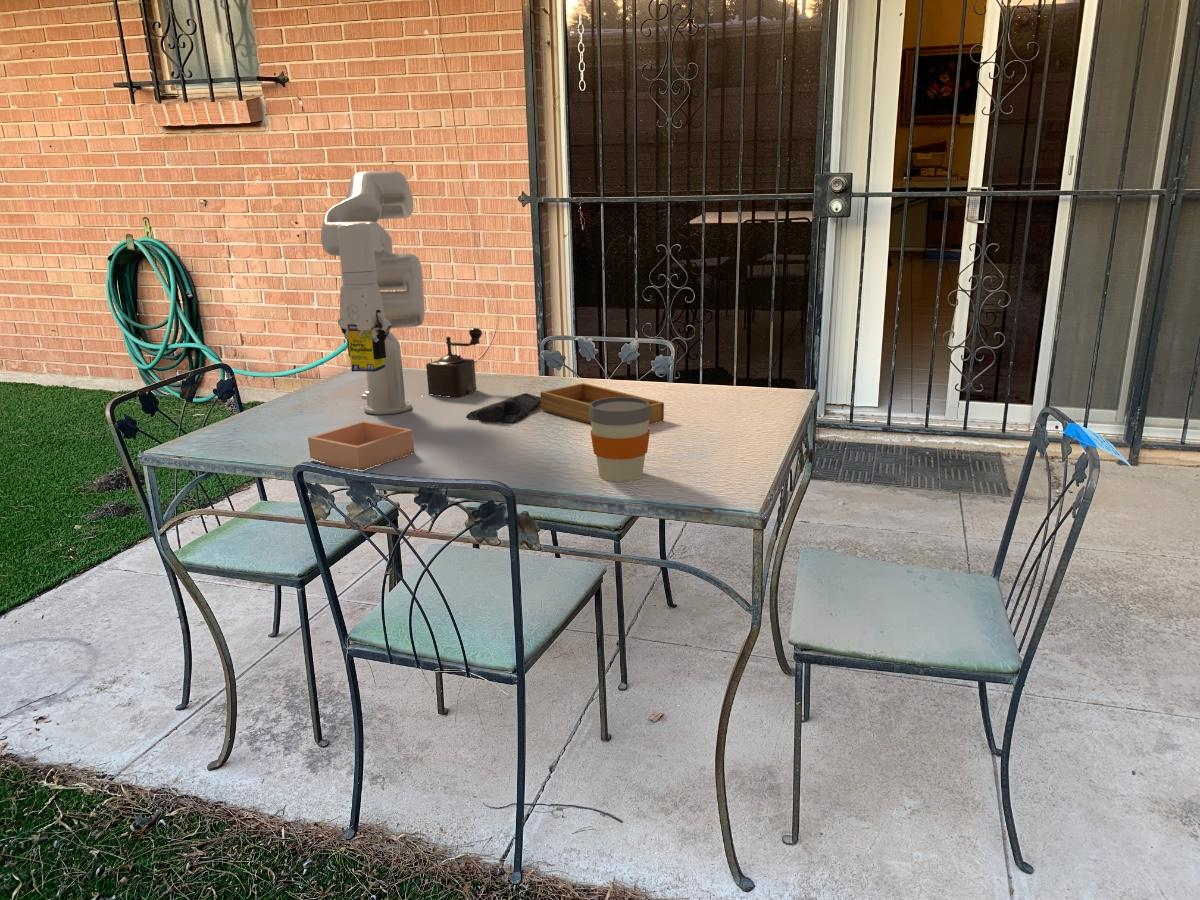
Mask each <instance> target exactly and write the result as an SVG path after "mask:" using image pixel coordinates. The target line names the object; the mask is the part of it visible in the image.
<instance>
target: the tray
mask: <svg viewBox="0 0 1200 900" xmlns="http://www.w3.org/2000/svg"><path fill="white" fill-rule="evenodd" d="M540 397H541V404H540V409H541V411H544V412H548V413H551V414H554V415H559V416H562V417H566V418H569V419H572V420H576V421H579V422H583V423H586V424H589V425H591V420H590V419H589V411H590V403H591V402H593V401H596V400H599V399H604V398H611V397H633V398H639V399H643V400H646V401H648V402H649V404H650V413H651V418H650V419H649V424H650V425H653V423H654V424H657V423H660V421H661V422H664V419H665V402H662V401H659V400H655V399H650V398H646V397H642V396H639V395H634V394H630V393H626V392H621V391H619V390H618V391H617V390H613V389H609V388H606V387H605V388H604V387H601V386H597V385H593V384H588V383H584V382H582V383H581V382H580V383H576V384H572V385H567V386H562V387H558V388H552V389H547V390H543V391H540ZM656 422H657V423H656Z"/></svg>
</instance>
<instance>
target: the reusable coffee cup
mask: <svg viewBox="0 0 1200 900" xmlns="http://www.w3.org/2000/svg"><path fill="white" fill-rule="evenodd" d="M650 418H651V413H650V404H649V402H648V401H646V400H643V399H639V398H633V397H611V398H604V399H599V400H596V401H593V402H591V403H590V411H589V419H590V420H591V424H590V426H591V430H590V437H591V442H592V443H591V444H592V450H593V453H594V455H595V457H596V463H597V464H596V465H597V469H598V476H599V477H600V479H602V480H605V481H608V482H612V483H613V482H615V483H624V482H633V481H636V480H638V479H639V480H640V478H642V477H643V474H644V465H645V459H646V458H645V457H646V454H647V453H648V452H649V451H648V450H649V443H650V442H649V441H650V434H651V431H650V428H649V419H650Z"/></svg>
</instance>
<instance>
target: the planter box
mask: <svg viewBox="0 0 1200 900" xmlns="http://www.w3.org/2000/svg"><path fill="white" fill-rule="evenodd" d="M413 431H414V430H413V429H409V428H406V427H405V428H404V427H398V426H394V425H390V424H389V425H388V424H384V423H383V424H382V423H379V422H378V423H376V422H371V421H365V420H362V421H359V422H355V423H352V424H349V425H346V426H345V425H344V426H342V427H338V428H336V429H332V430H329V431H326V432H322V433H320V434H316V435H312V436H309V437H307V442H308V450H309V458H313V459H315V460H318V461H321V462H325V463H321V465H324V464H325V466H329V465H331V466H330V467H333V466H335V467H334V468H338V467H343V468H349V469H358V470H365V469H367V468H370V467H373V466H375V465H379V464H382V463H385V462H388V461H391V460H394V459H397V458H400V457H402V458H404V457H403V456H405V457H407V456H406V455H408V456H410V455H409V454H411V453H413V454H415V445H414V443H415V442H414V432H413ZM411 455H412V454H411ZM400 459H401V458H400ZM397 460H398V459H397ZM394 461H395V460H394ZM391 462H392V461H391ZM388 463H389V462H388Z"/></svg>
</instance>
